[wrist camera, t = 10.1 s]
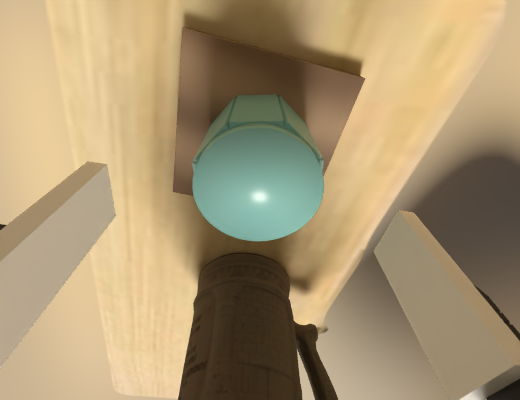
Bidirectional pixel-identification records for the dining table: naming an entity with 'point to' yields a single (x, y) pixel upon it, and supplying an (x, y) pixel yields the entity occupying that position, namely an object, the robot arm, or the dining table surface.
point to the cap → (258, 170)
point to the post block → (254, 93)
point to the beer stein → (249, 336)
